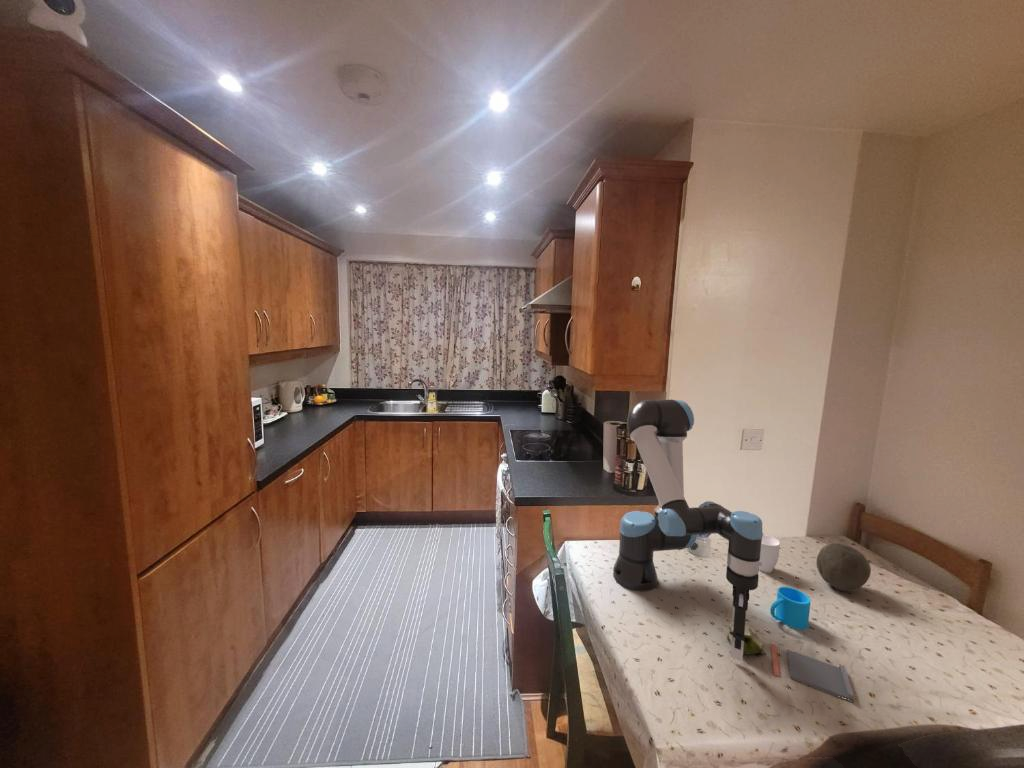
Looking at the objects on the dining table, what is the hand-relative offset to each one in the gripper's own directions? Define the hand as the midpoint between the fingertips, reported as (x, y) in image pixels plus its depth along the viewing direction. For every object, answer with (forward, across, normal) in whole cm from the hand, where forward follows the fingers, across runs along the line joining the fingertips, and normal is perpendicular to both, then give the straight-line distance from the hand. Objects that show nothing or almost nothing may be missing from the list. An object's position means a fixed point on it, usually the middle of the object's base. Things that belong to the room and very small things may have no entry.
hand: (736, 641), depth 106 cm
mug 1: (+1, +50, -7) cm, 51 cm away
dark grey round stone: (+1, +51, -31) cm, 60 cm away
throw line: (+1, 0, -9) cm, 9 cm away
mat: (+1, 0, -18) cm, 18 cm away
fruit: (+2, 0, -2) cm, 2 cm away
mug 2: (+2, +20, -13) cm, 24 cm away
